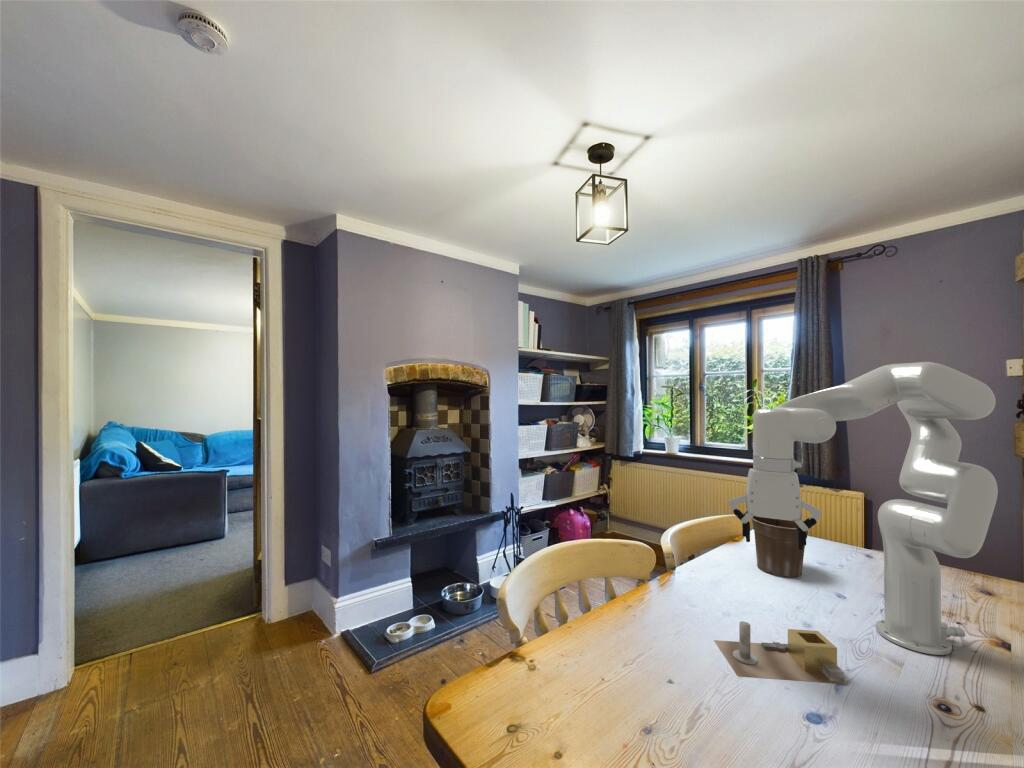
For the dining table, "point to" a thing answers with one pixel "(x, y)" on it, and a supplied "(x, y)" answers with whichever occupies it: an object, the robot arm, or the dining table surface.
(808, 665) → the end link
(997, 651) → the dining table surface
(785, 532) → the plant pot
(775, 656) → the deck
